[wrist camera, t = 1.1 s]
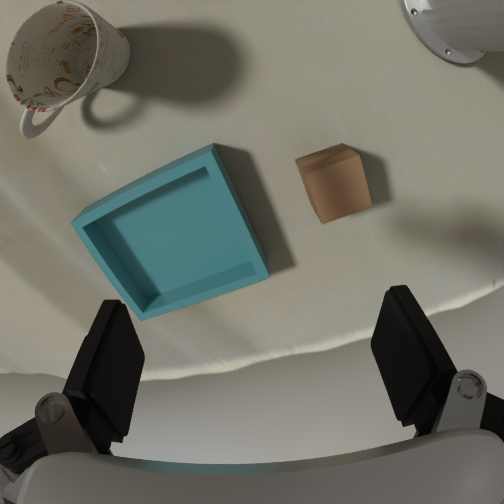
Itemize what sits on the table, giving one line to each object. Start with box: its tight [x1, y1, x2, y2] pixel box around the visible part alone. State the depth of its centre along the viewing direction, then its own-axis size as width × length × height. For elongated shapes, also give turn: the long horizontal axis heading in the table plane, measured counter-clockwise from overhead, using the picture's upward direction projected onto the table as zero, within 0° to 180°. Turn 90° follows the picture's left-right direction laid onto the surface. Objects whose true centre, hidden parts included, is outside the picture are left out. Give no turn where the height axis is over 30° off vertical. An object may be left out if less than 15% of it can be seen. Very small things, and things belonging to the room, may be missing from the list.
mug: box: [6, 0, 130, 139], centre depth 19 cm, size 8×12×10 cm, turn 140°
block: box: [295, 143, 372, 225], centre depth 28 cm, size 5×5×5 cm
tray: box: [71, 143, 270, 321], centre depth 31 cm, size 16×14×4 cm
